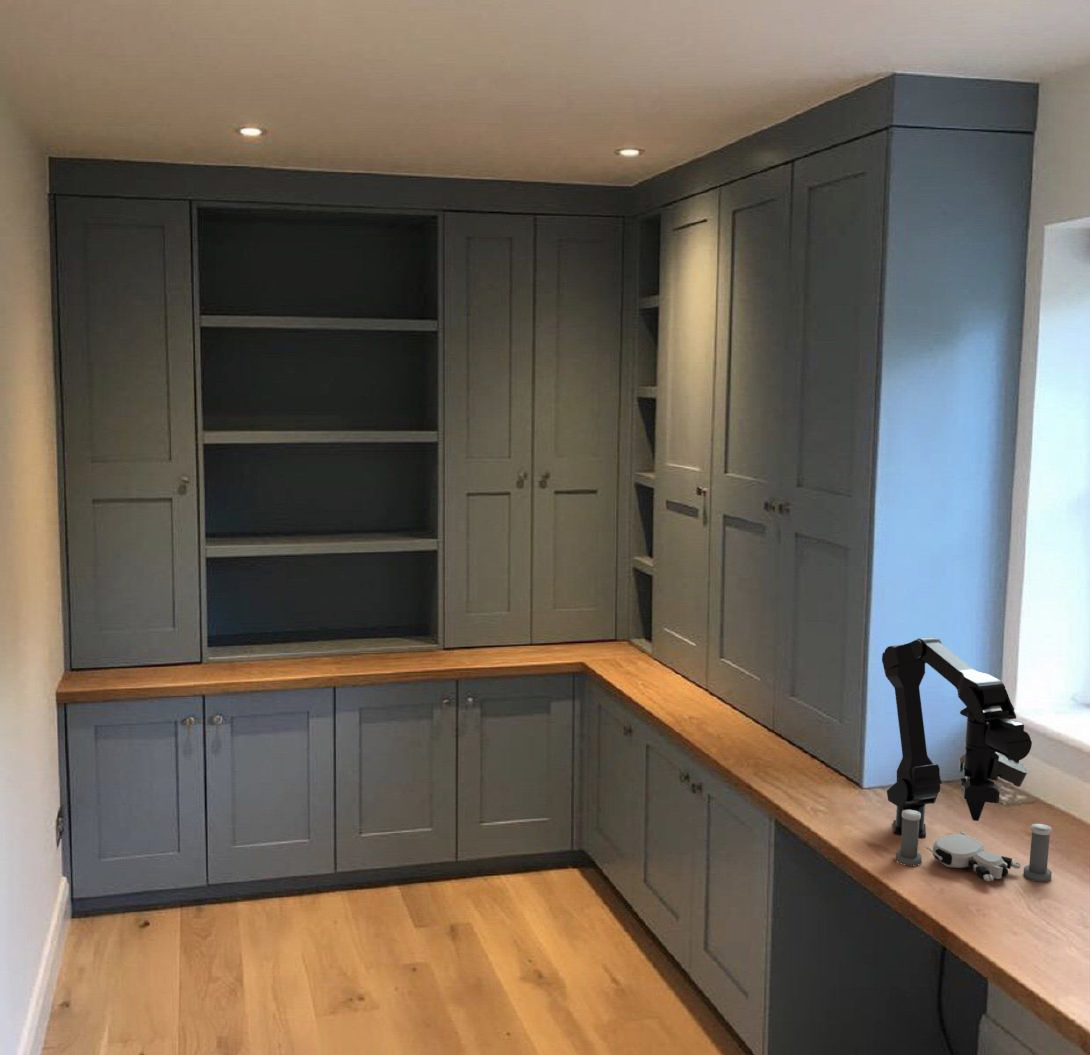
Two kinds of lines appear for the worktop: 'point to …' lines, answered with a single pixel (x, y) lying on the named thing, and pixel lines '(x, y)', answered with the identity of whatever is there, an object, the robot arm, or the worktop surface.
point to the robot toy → (971, 856)
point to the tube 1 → (909, 839)
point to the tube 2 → (1039, 854)
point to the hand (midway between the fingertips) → (975, 820)
